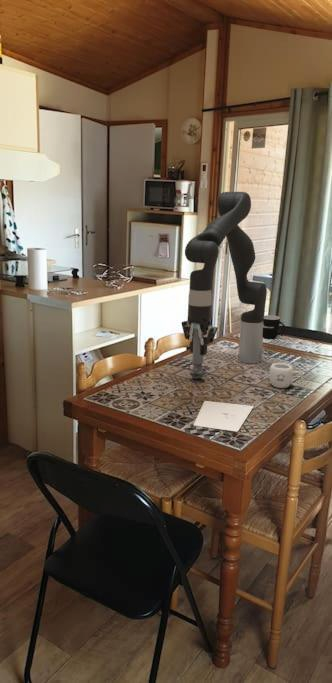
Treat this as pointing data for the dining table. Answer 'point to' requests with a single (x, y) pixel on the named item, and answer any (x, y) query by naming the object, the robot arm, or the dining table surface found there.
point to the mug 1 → (271, 327)
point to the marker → (196, 346)
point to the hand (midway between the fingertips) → (198, 353)
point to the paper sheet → (222, 415)
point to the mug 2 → (282, 375)
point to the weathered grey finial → (197, 373)
